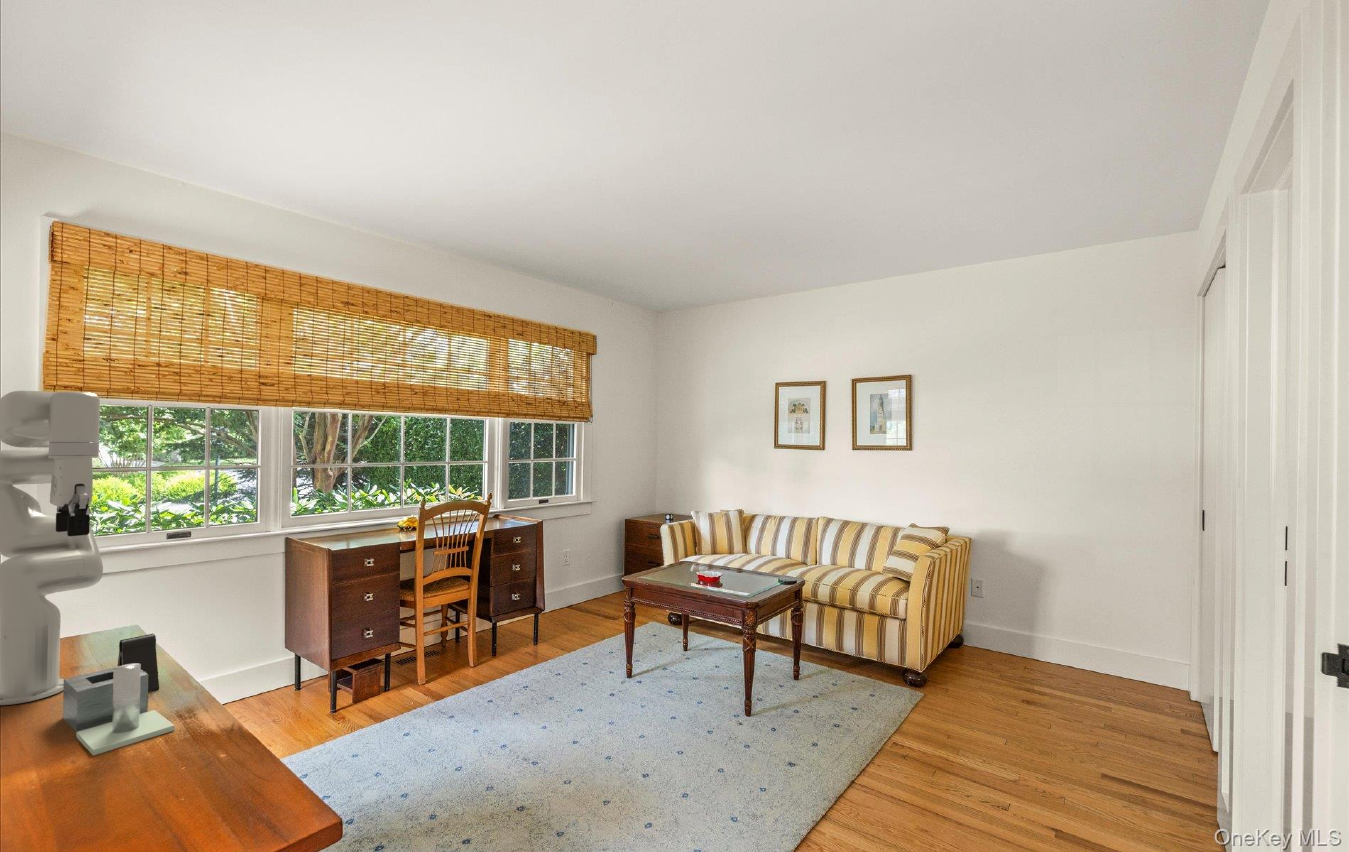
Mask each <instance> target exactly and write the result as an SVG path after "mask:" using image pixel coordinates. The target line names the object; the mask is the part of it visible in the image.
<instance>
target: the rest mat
mask: <svg viewBox="0 0 1349 852" xmlns="http://www.w3.org/2000/svg"><path fill="white" fill-rule="evenodd" d="M175 726H176V725H175V724H174V723H172V722H171V721H170V720H168V719H167V718H166V717H165V716H163V714H160V713H159V712H158V711H157V710H155V709H151V710H150V711H148V712H145V713H142V714H140V722H139V727H138V728H136V729H134V730H131V731H128V732H124V733H113V732H112V722H110V723H106V724H103V725H99V726H96V727H92V728H89V729H85V730H82V731H78V732H75V734H76V737H75V738H76V739H77V740H78V741H79V742H80V743H81V744H82V746H84V748H85V749H87V750H88V752H89V753H90V754H91V755H92V756H97V755H100V754H103V753H106V752H110V751H113V750H116V749H118V748H122V747H125V746H128V745H132V744H135V743H138V742H139V743H140V742H142V741H144V740H149V739H151V738H154V737H157V736H161V735H164V734H167V733H170V732H174V731H175Z"/></svg>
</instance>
